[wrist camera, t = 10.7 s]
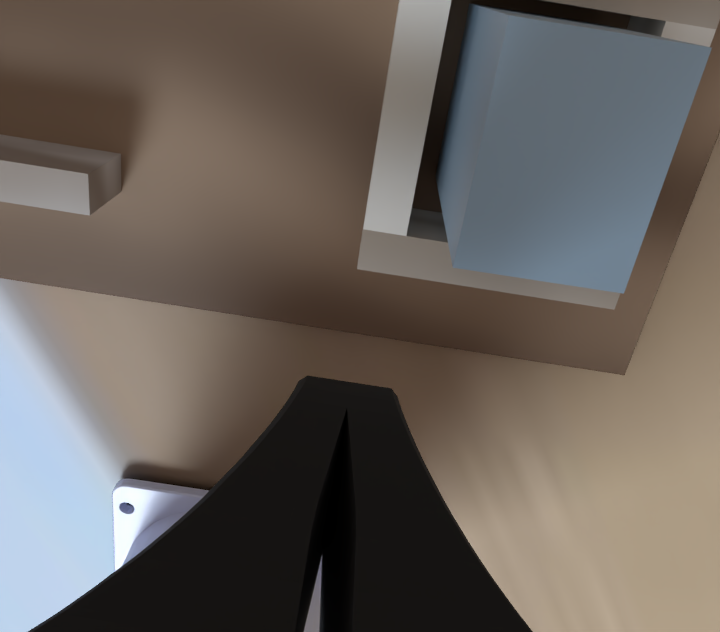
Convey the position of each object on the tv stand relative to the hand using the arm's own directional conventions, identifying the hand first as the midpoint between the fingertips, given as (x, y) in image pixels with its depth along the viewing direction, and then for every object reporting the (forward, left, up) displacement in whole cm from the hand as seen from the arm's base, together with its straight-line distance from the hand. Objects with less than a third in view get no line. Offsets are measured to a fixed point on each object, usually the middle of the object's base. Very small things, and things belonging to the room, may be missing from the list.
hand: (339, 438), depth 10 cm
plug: (+4, -3, -9) cm, 10 cm away
